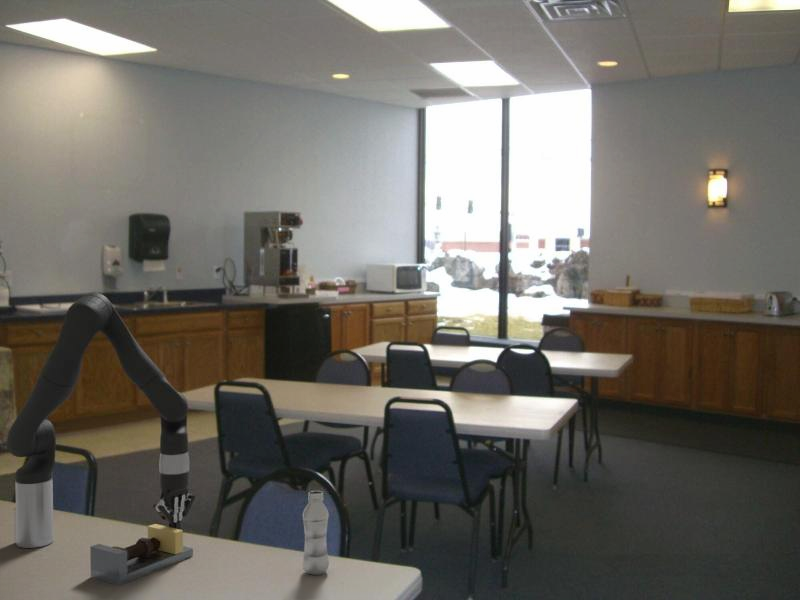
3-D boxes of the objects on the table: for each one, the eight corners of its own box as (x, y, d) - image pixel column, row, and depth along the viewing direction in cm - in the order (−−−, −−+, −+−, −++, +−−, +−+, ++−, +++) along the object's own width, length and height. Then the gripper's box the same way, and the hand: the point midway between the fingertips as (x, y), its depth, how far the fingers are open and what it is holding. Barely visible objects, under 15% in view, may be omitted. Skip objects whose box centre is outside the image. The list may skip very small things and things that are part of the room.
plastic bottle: (333, 569, 217) (333, 490, 216) (321, 579, 211) (322, 497, 210) (309, 566, 219) (309, 488, 218) (297, 576, 213) (297, 495, 212)
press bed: (90, 577, 211) (90, 546, 211) (165, 548, 232) (165, 521, 231) (119, 585, 206) (118, 554, 205) (192, 556, 226) (192, 527, 226)
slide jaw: (147, 547, 226) (147, 526, 226) (155, 544, 228) (155, 523, 228) (175, 554, 221) (175, 532, 221) (182, 551, 223) (182, 530, 223)
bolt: (158, 558, 224) (115, 575, 210) (145, 545, 226) (102, 562, 212) (167, 540, 222) (125, 556, 209) (154, 527, 224) (111, 543, 211)
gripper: (165, 477, 219) (166, 544, 220) (203, 466, 230) (203, 530, 231) (144, 472, 223) (145, 539, 224) (182, 462, 234) (183, 525, 235)
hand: (174, 534), depth 228 cm, fingers closed
